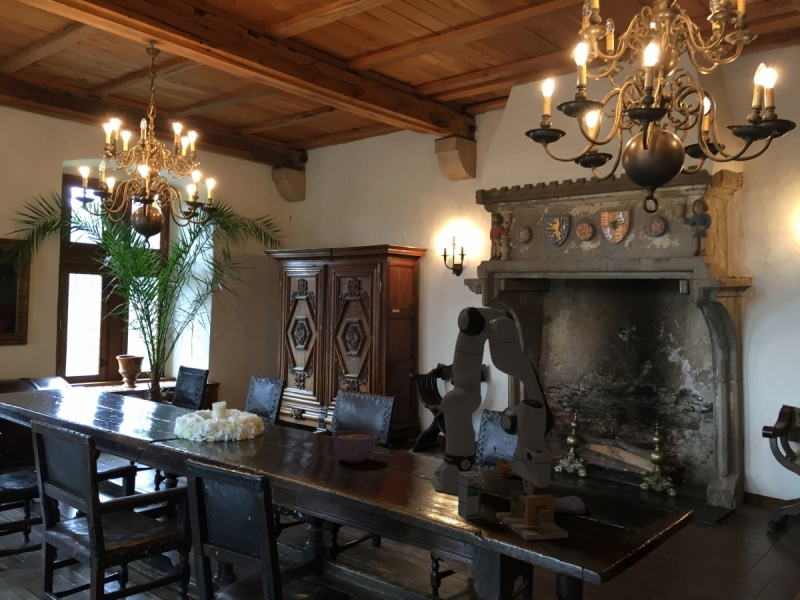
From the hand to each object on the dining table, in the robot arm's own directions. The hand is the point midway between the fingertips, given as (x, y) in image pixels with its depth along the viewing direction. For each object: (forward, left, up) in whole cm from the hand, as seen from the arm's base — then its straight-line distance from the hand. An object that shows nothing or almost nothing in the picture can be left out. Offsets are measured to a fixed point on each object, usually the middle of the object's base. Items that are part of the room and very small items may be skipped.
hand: (528, 493), depth 212 cm
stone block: (-12, +21, -11) cm, 27 cm away
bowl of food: (-93, -38, -11) cm, 101 cm away
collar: (+7, 0, -8) cm, 10 cm away
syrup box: (-12, -16, -11) cm, 22 cm away
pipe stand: (+1, 0, -10) cm, 10 cm away
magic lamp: (-58, +20, -11) cm, 62 cm away
